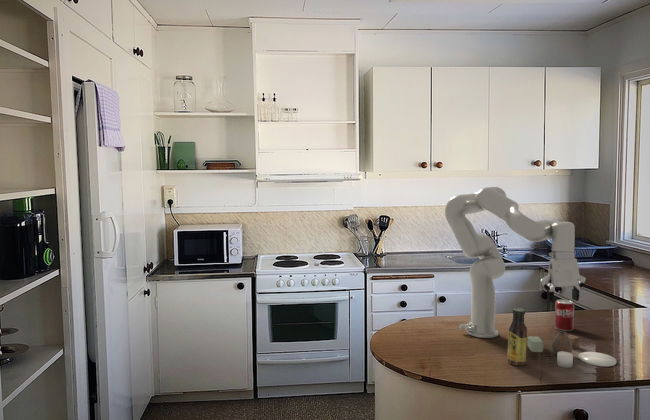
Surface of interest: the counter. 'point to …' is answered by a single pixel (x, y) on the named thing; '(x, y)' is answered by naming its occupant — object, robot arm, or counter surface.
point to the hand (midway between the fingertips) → (563, 300)
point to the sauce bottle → (517, 338)
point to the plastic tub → (565, 359)
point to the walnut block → (574, 341)
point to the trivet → (597, 359)
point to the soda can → (564, 315)
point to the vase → (561, 343)
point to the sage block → (535, 344)
